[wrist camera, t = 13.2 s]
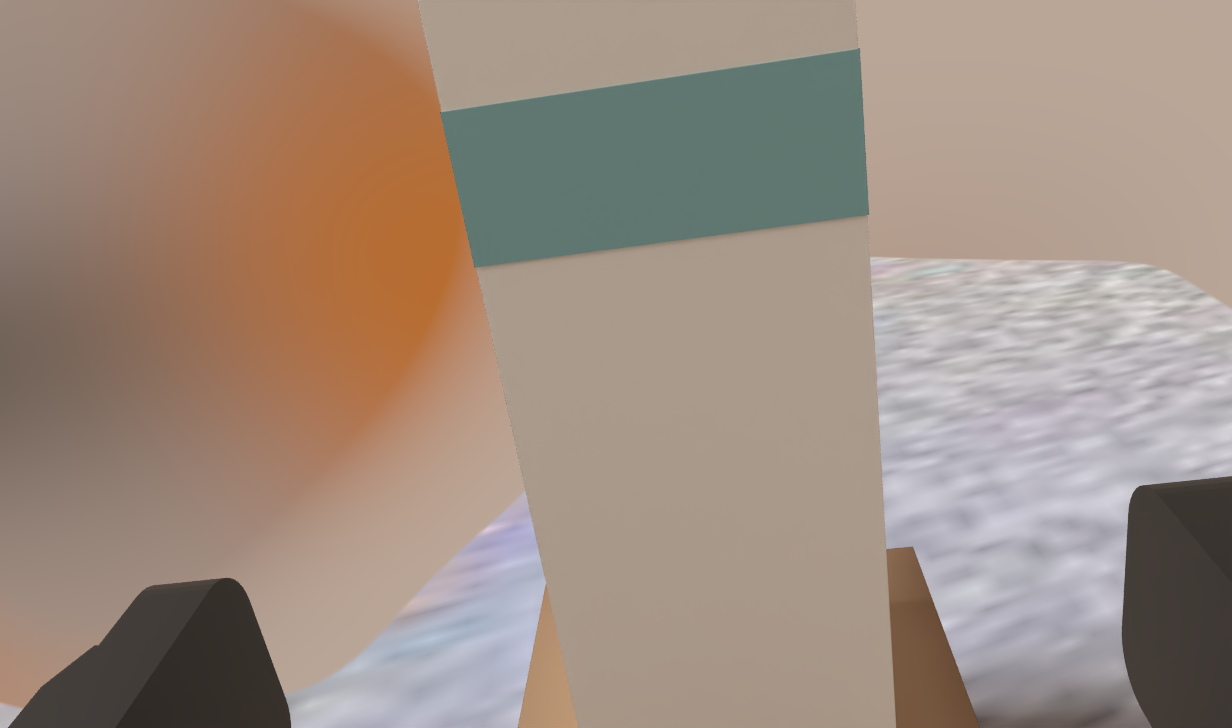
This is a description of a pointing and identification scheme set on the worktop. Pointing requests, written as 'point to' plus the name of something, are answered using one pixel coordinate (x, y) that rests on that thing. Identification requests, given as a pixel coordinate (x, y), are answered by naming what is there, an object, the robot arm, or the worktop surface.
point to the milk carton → (683, 344)
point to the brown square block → (922, 661)
